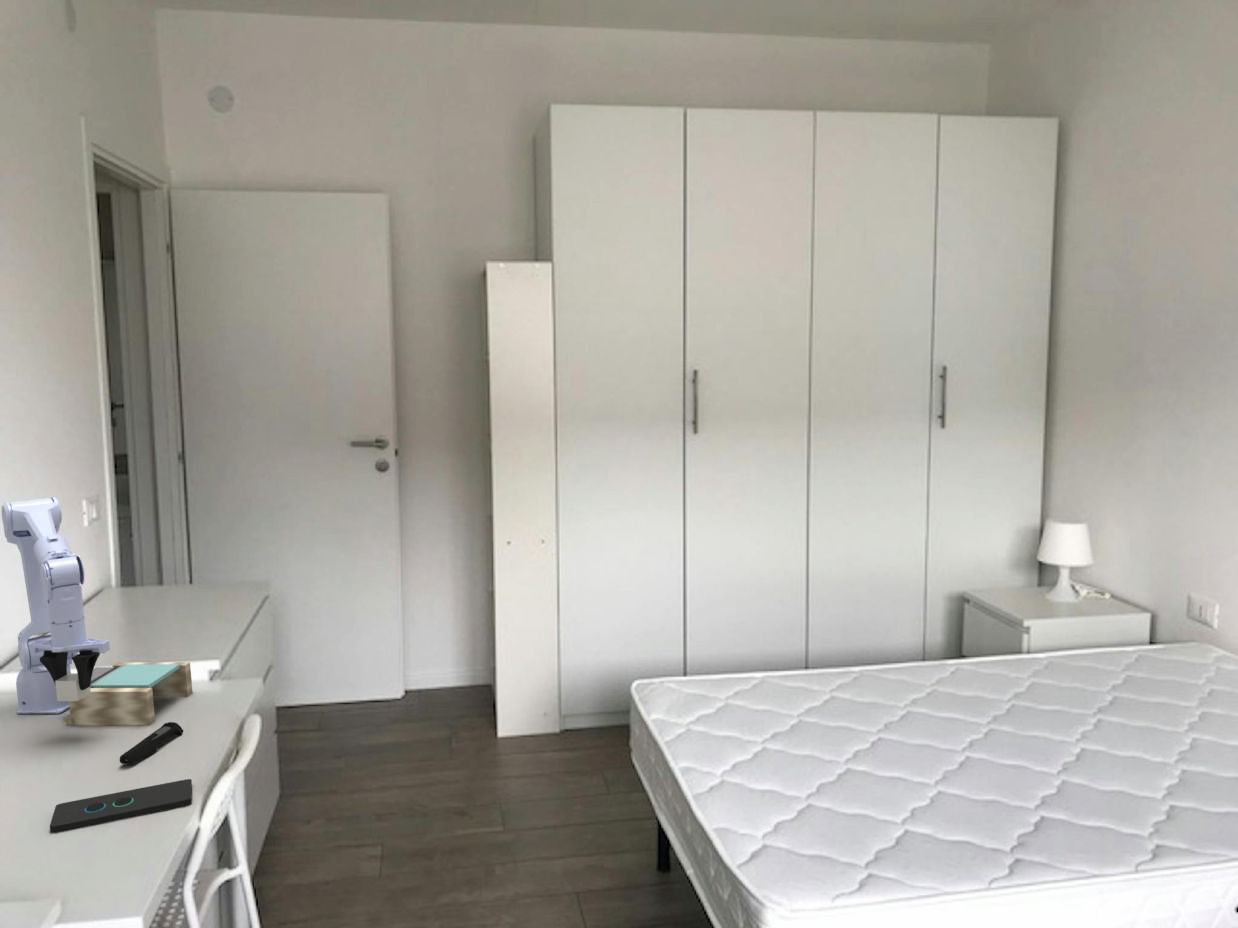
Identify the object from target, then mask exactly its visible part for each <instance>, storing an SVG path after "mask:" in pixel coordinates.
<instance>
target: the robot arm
mask: <svg viewBox="0 0 1238 928" xmlns="http://www.w3.org/2000/svg"><path fill="white" fill-rule="evenodd" d="M62 512H63V511H62V508H61V503H60V501H59V499H58V498H57V497H55V496H52V497H47V498H37V499H30V500H20V501H12V502H11V501H5V502H4V503H3V504H2V506H1V519H2V520H1V521H2V525H3V531H4V537H5V539H6V542H7V543H10V544H13V545H15V546H16V547H17V549H18V550H19V552H20V558H21V563H22V569H23V577H24V583H25V590H26V596H27V601H28V608H29V615H30V620H31V621H30V622H29V623H28V624H27V625H26V626H25V627H24V628H22V630H21V631H19V633H18V635H17V652H18V657H19V662H20V665H21V667H22V668H21V670H20V671H19V672H18V674H17V676H16V682H15V683H16V684H15V685H16V695H17V696H16V697H17V705H18V706H17V707H18V710H16V714H61V713H63V712H65V711H66V710H67V709H70V705H69V701H57V693H56V683H55V681H56V680H58V679H60V678H62V677H63V676H65V675H67V674H69V673H71V671H72V670H71V665H72V664H73V663H74V666H75V669H76V673H78V680H79V686H80V690H85V689H87V688H88V687H90V684H91V678H92V673H93V669H94V668H95V666H96V663H97V661H98V659H99V657H100V655H101V654H105V653H107V652H109V651H110V650H111V648H110V646H111V645H110V640H109V639H108V640H107V639H97V638H89V637H87V632H86V631H87V630H86V623H85V621H86V620H85V611H84V602H83V601H84V600H83V590H82V588H83V587H82V585H84V583H85V567H84V563H83V561H82V558H81V556H80V555H79V554H77V553H73V551H72V550H71V548H70V545H69V543H68V541H67V540H66V538H65V537H64V536H62V535H59V534H58V533H59V530H60V527H61V523H62V519H63V515H62ZM48 633H50V634H48ZM42 634H43V635H42ZM44 634H47V635H44ZM37 635H38V636H37ZM39 635H40V636H39ZM41 635H42V636H41ZM32 636H36V637H32Z"/></svg>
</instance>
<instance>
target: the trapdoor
mask: <svg viewBox="0 0 1238 928" xmlns="http://www.w3.org/2000/svg"><path fill="white" fill-rule="evenodd" d="M179 668H180V665H179V664H153V665H126V664H124V665H122V666H120V667H119V668H117V669H115V668H114V667H113V666H112V667H111V666H107V667H105V666H99V667H98V666H97V667H94V669H93V673H92V678H91V684H90V688H151V687H152V686H154V685H155V684H157V683H158V682H160V681H161V680H163V679H164V678H166V677H167V676H169V675H170V674H172V673H173V672H175V671H176V670H177V669H179Z"/></svg>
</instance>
